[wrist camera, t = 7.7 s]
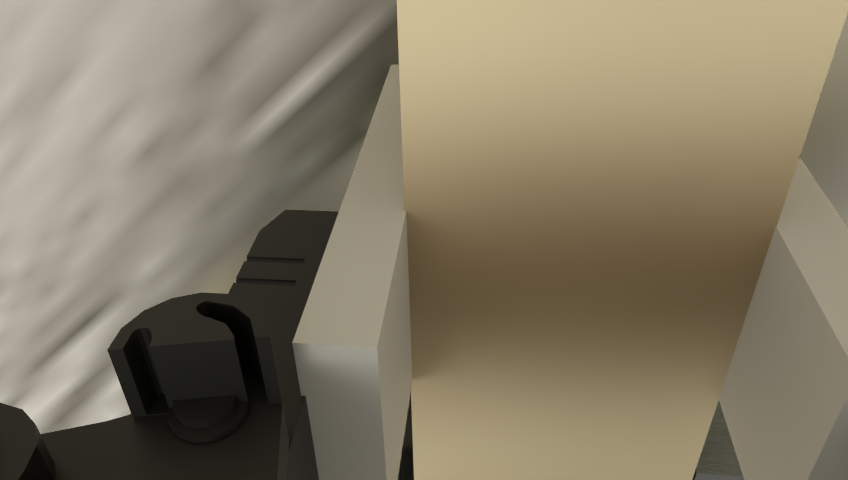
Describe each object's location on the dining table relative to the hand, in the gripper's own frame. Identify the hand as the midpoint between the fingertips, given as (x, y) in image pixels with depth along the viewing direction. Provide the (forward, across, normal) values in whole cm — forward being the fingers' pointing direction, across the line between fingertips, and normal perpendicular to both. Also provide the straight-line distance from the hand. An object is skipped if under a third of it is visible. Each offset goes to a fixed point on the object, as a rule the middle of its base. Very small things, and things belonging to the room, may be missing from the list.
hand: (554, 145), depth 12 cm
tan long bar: (+1, 0, 0) cm, 1 cm away
